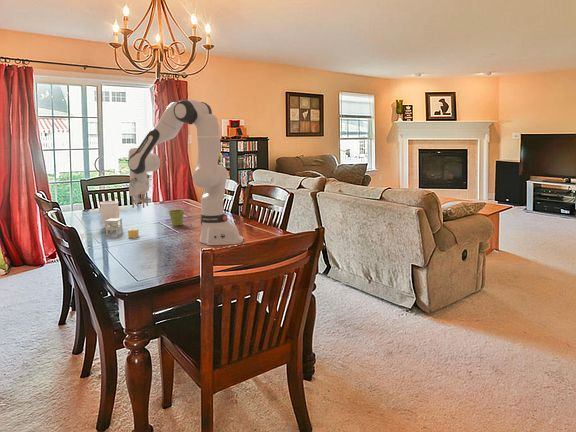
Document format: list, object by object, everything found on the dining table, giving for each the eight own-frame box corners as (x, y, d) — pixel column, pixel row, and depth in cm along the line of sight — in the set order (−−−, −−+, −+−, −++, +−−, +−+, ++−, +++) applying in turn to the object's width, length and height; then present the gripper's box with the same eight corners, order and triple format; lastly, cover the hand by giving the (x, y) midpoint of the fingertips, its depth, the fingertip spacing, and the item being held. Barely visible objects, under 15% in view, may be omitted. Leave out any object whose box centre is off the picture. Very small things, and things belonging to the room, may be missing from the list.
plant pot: (166, 226, 255) (165, 212, 254) (173, 223, 264) (172, 209, 263) (181, 226, 254) (180, 212, 252) (187, 223, 263) (187, 209, 261)
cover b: (122, 232, 240) (121, 218, 238) (117, 235, 233) (116, 220, 232) (111, 232, 240) (110, 218, 238) (106, 235, 233) (105, 220, 232)
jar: (124, 226, 256) (122, 201, 253) (109, 229, 247) (106, 203, 245) (113, 224, 262) (111, 200, 259) (98, 227, 253) (95, 202, 250)
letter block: (138, 236, 232) (138, 228, 231) (135, 237, 228) (135, 230, 227) (131, 235, 232) (130, 228, 231) (128, 237, 228) (127, 230, 228)
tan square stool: (148, 205, 240) (147, 191, 239) (143, 207, 234) (143, 193, 232) (136, 205, 240) (135, 191, 239) (132, 207, 234) (131, 193, 233)
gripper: (136, 179, 224) (138, 205, 226) (150, 175, 244) (152, 199, 246) (124, 178, 224) (126, 205, 227) (139, 175, 244) (141, 199, 247)
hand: (140, 201), depth 237 cm, fingers closed on tan square stool, 6 cm apart
